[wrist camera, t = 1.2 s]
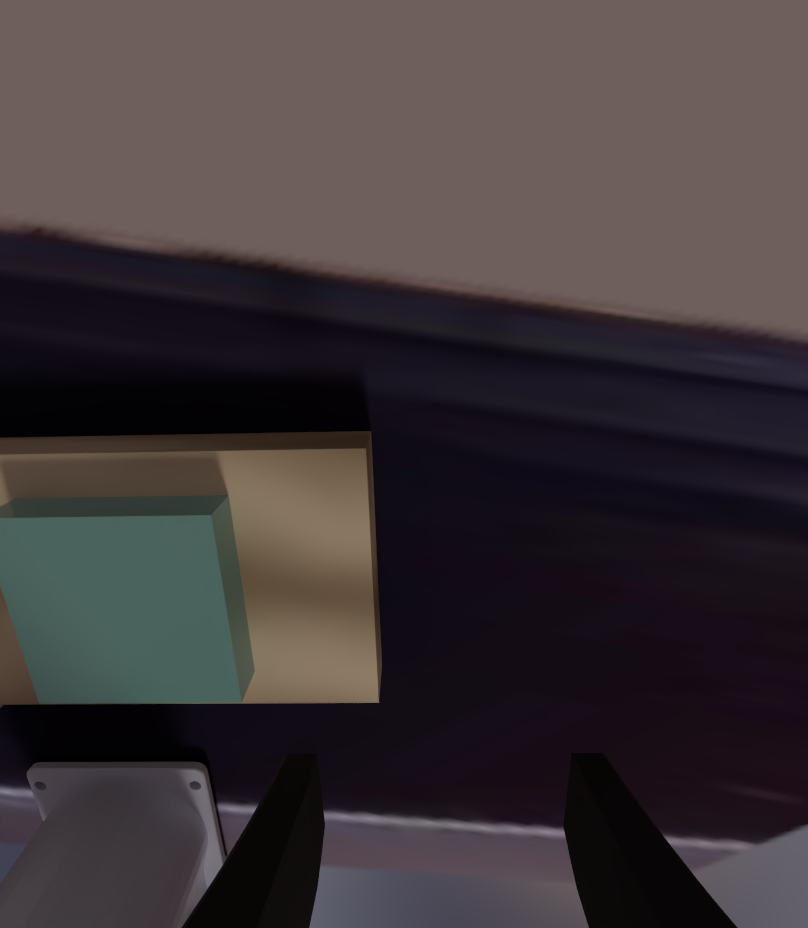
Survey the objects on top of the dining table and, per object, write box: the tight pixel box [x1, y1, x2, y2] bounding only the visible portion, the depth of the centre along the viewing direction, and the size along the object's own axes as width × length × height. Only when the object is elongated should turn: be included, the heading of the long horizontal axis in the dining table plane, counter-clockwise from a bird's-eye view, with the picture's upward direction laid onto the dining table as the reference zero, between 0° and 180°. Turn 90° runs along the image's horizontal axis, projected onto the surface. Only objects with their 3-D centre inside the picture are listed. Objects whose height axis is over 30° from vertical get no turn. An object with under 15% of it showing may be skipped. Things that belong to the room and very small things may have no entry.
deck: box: [0, 431, 382, 705], centre depth 19 cm, size 10×16×2 cm, turn 91°
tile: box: [0, 495, 255, 704], centre depth 17 cm, size 7×7×2 cm
